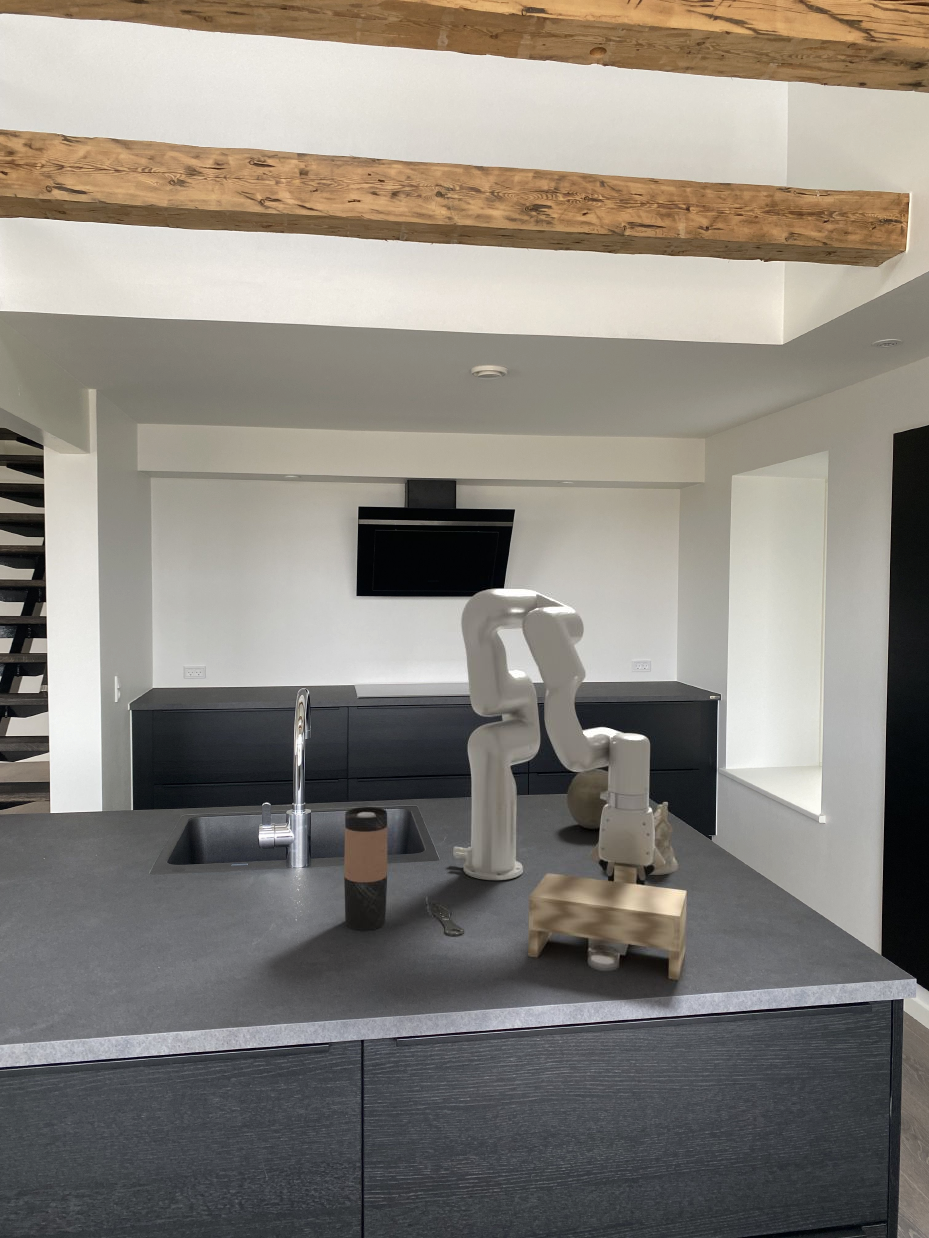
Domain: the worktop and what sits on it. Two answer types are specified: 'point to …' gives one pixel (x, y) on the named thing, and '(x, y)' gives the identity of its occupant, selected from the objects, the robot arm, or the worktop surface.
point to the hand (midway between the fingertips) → (626, 895)
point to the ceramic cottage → (663, 841)
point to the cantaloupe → (588, 797)
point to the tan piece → (623, 875)
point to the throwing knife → (444, 912)
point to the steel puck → (603, 958)
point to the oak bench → (609, 914)
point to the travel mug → (365, 868)
